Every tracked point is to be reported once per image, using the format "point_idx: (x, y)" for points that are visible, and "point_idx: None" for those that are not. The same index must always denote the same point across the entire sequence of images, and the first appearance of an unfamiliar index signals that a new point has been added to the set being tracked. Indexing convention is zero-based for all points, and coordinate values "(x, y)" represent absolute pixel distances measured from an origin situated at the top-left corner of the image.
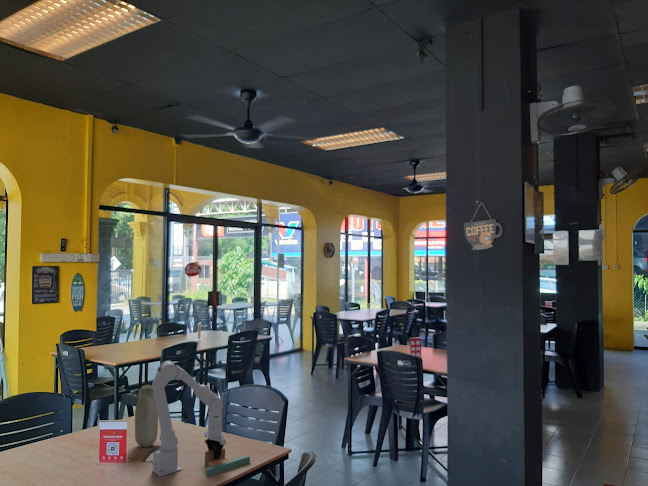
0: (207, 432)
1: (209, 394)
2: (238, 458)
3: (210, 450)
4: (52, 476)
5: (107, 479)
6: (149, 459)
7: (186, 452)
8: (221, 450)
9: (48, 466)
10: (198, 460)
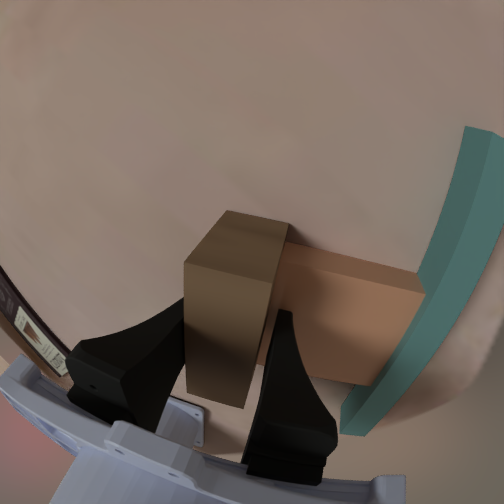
0: (24, 411)
1: None
2: (465, 246)
3: (192, 367)
4: None
5: None
6: (57, 367)
7: (30, 256)
8: (301, 362)
9: None
10: (141, 306)
